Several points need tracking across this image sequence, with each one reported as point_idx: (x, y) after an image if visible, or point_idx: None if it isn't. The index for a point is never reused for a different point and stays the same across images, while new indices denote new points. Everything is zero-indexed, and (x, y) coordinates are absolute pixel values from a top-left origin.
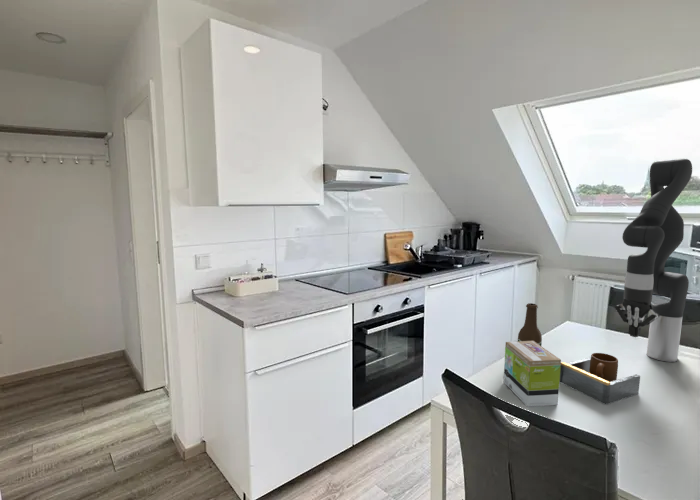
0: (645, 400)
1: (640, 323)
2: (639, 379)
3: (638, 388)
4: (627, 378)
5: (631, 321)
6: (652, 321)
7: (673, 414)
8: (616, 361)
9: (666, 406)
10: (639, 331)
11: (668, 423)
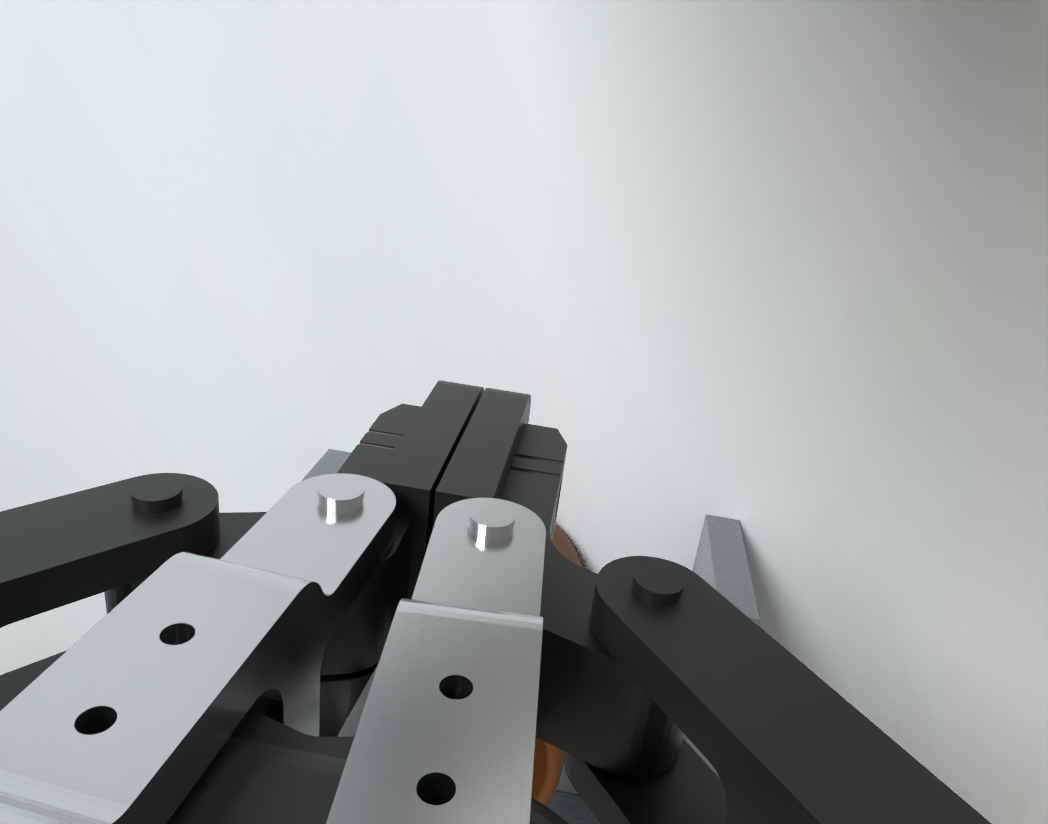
0: (813, 584)
1: (578, 783)
2: (753, 602)
3: (742, 551)
4: (704, 757)
5: (339, 724)
6: (873, 756)
7: (1021, 645)
8: (560, 768)
9: (956, 560)
10: (554, 515)
11: (1017, 785)
